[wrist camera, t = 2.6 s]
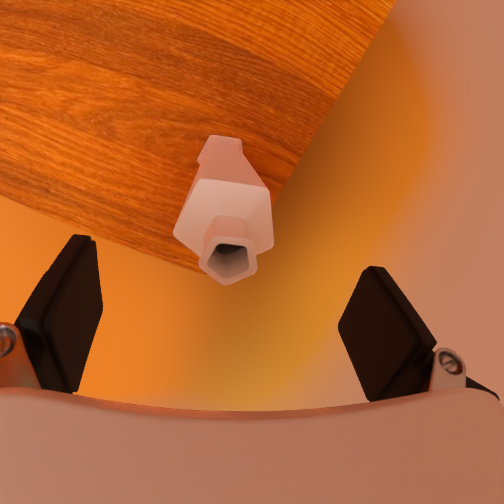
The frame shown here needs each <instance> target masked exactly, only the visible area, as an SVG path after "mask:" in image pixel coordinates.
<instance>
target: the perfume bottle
mask: <svg viewBox="0 0 504 504" xmlns="http://www.w3.org/2000/svg"><path fill="white" fill-rule="evenodd" d="M197 162H198V163H199V164H200V167H199V169H198V172H197V174H196V176H195V179H194V181H193V183H192V186H191V188H190V190H189V193H188V195H187V198H186V200H185V203H184V205H183V207H182V210H181V212H180V215H179V217H178V220H177V223H176V225H175V228H174V231H173V235H174V236H175V238H176V239H178V240H179V241H180V242H181V243H183V244H184V245H185V246H186V247H188V248H189V249H190V250H191V251H193V252H194V253H195V254H196V255H198V256H199V257H200V259H199V262H198V265H199V267H200V268H201V269H202V270H203V271H204V272H206V273H207V274H208V275H209V276H211V277H212V278H213V279H215V280H216V281H217V282H219V283H220V284H222V285H229V284H231V283H234V282H237V281H239V280H241V279H244V278H246V277H248V276H251V275H253V274H254V273H255V272H256V271H257V260H256V255H258V254H260V253H262V252H265V251H267V250H269V249H271V248H272V247H273V246H274V235H273V224H272V212H271V201H270V193H269V190H268V189H267V187H266V186H265V184H264V183H263V181H262V180H261V178H260V177H259V176H258V174H257V173H256V171H255V170H254V168H253V167H252V166H251V164H250V163H249V161H248V160H247V159H246V157H245V156H244V154H243V148H242V141H241V140H240V139H238V138H232V137H226V136H219V135H210V136H209V138H208V139H207V141H206V143H205V145H204V147H203V149H202V151H201V153H200V155H199V156H198V159H197Z"/></svg>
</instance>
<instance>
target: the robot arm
mask: <svg viewBox="0 0 504 504" xmlns="http://www.w3.org/2000/svg"><path fill="white" fill-rule="evenodd" d="M102 311H103V302H102V294H101V287H100V279H99V270H98V260H97V249H96V242H95V241H92V240H91V237H90V236H87V235H77V234H74V235H73V236H72V237H71V238H70V240H69V241H68V242H67V244H66V245H65V247H64V248H63V249H62V251H61V252H60V253H59V255H58V256H57V258H56V259H55V261H54V262H53V264H52V265H51V267H50V268H49V270H48V271H47V272H46V273H45V274H44V275H43V277H42V278H41V280H40V281H39V283H38V284H37V286H36V287H35V289H34V291H33V292H32V294H31V296H30V297H29V299H28V301H27V302H26V304H25V306H24V307H23V309H22V311H21V312H20V314H19V316H18V318H17V319H16V321H15V323H14V325H13V324H10V323H7V322H5V323H4V322H1V323H0V504H504V407H503V406H502V404H501V403H500V401H499V397H498V395H497V394H496V393H494V392H493V391H491V390H489V389H487V388H486V387H484V386H482V385H480V384H479V383H477V382H475V381H473V380H472V379H470V378H468V377H467V376H466V366H465V364H464V361H463V360H462V358H461V357H460V356H459V355H458V354H457V353H456V352H454V351H453V350H451V349H448V348H439V349H438V350H436V351H435V353H434V352H433V350H432V349H433V348H434V346H435V345H436V343H437V342H436V340H435V338H434V337H433V335H432V334H431V332H430V331H429V329H428V328H427V326H426V325H425V323H424V322H423V321H422V319H421V318H420V316H419V315H418V313H417V312H416V311H415V309H414V308H413V306H412V305H411V303H410V302H409V301H408V299H407V298H406V296H405V295H404V294H403V292H402V291H401V289H400V288H399V287H398V285H397V284H396V283H395V281H394V280H393V278H392V277H391V276H390V275H389V273H388V272H387V271H386V269H385V268H383V267H377V266H369V267H368V268H367V269H365V270H364V271H363V272H362V274H361V276H360V278H359V281H358V283H357V285H356V288H355V289H354V292H353V294H352V296H351V298H350V300H349V302H348V304H347V306H346V309H345V311H344V313H343V315H342V317H341V319H340V321H339V323H338V331H339V333H340V336H341V338H342V340H343V343H344V345H345V347H346V350H347V352H348V354H349V357H350V359H351V362H352V364H353V366H354V369H355V371H356V374H357V376H358V378H359V381H360V383H361V386H362V388H363V391H364V393H365V396H366V398H367V400H369V401H370V402H368V403H361V404H353V405H345V406H336V407H327V408H316V409H303V410H287V411H255V412H254V411H253V412H252V411H248V412H246V411H244V412H243V411H240V412H239V411H203V410H186V409H185V410H184V409H172V408H161V407H152V406H144V405H136V404H129V403H120V402H114V401H108V400H101V399H95V398H90V397H84V396H79V395H74V394H72V393H73V392H77V391H78V389H79V385H80V381H81V378H82V374H83V371H84V367H85V364H86V361H87V357H88V354H89V351H90V348H91V345H92V342H93V339H94V335H95V333H96V330H97V326H98V324H99V321H100V318H101V315H102Z"/></svg>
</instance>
